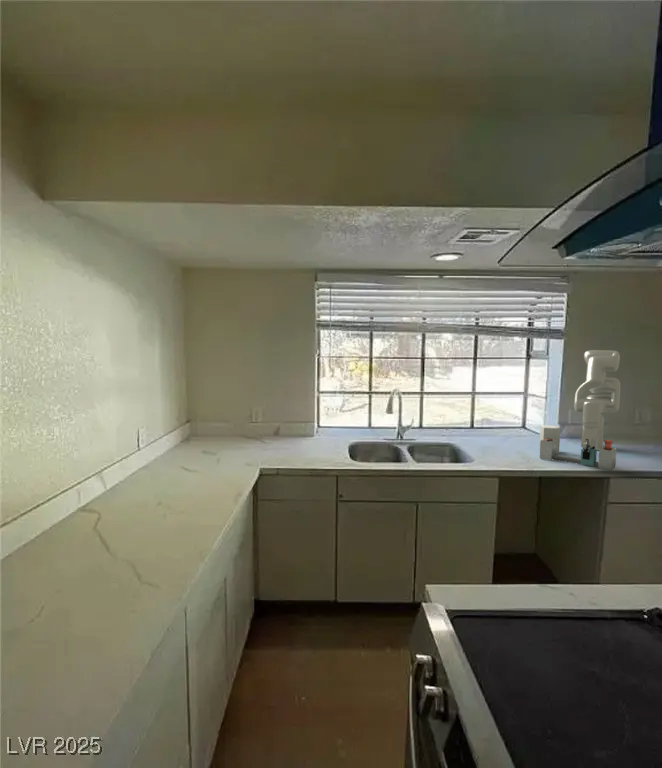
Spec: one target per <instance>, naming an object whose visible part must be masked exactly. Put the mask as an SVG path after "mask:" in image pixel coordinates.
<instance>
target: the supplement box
mask: <svg viewBox="0 0 662 768" xmlns="http://www.w3.org/2000/svg"><path fill="white" fill-rule="evenodd" d="M539 428H540V429H539V441H540V440H542V439H545V438H551V439H556V440H557V450H556V455H559V454H560V443H561V441H560V440H561V427H560V426H557V425H555V424H553V425H551V424H549V425H548V424H547V425H546V424H540V425H539ZM538 447H539V448H538V449H539V451H540V442H539V446H538Z"/></svg>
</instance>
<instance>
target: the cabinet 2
mask: <svg viewBox="0 0 662 768" xmlns="http://www.w3.org/2000/svg"><path fill="white" fill-rule="evenodd" d="M597 462H598V467H597V469H600V470H604V471H605V470H606V471H613V470H614V469H615V468H616V467H617V463H616V462H617V447H612V446H611V450H609V449H605V445H603V447H601V448H600V449H599V450H598V461H597Z"/></svg>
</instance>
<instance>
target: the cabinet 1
mask: <svg viewBox="0 0 662 768" xmlns="http://www.w3.org/2000/svg"><path fill="white" fill-rule="evenodd" d="M539 443H540V450H539V459H540V458H541V460H546V459H547V461H553V460H552V459H553V456H554V455H557V454H556V450H557V440H556V439H551V438H545V439H542V440H540V439H539Z"/></svg>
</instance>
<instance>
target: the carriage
mask: <svg viewBox="0 0 662 768" xmlns="http://www.w3.org/2000/svg"><path fill="white" fill-rule="evenodd" d="M589 452H590V459H589V460H586V459H583V458H582V457H583V448H581V449H580V459H581V464H580V465H582V464H584V465H583V466H588V465H590V466H589V467H594V462H595V461H596V462H597V453H598V450H597V449H591V448H590V451H589Z"/></svg>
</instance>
